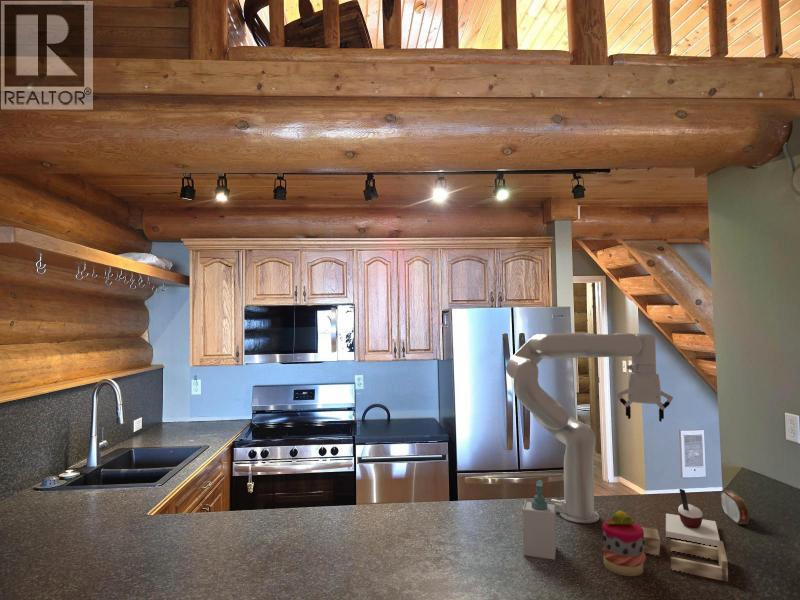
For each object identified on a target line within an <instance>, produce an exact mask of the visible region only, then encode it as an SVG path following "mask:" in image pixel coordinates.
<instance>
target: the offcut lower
mask: <svg viewBox="0 0 800 600" xmlns="http://www.w3.org/2000/svg"><path fill="white" fill-rule="evenodd" d="M659 539H660V540H661V537H659ZM660 549H661V547H660V548H656V547H649V546H643V551H644V552H645V554H647V553H651V554H650V555H652V554H655V555H654V556H656V555H658V556H657V557H660Z"/></svg>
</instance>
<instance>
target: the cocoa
mask: <svg viewBox="0 0 800 600" xmlns="http://www.w3.org/2000/svg"><path fill="white" fill-rule="evenodd" d="M679 494H680V495H679V496H680V498H681V503H682V504H680V505H679V506H678V513H679V516H680V519H681V522H682V523H683V524H684V525H685V526H686V527H689V528H698V527H699V526H700V525H701V523H702V519H703V512H702V510H701V508H699V507H696V506H695V505H694V504H693V505H692V504H691V503H688V500H687V495H686V490H685V489H682V488H679Z"/></svg>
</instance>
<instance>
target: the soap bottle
mask: <svg viewBox="0 0 800 600" xmlns="http://www.w3.org/2000/svg"><path fill="white" fill-rule="evenodd" d="M535 483H536V484H535V492H536V493H537V494H535V495H534V497H533V499H525V500H524V504H523V508H522V551H523V552H522V555H523V556H527V557H528V556H529V557H532V558H533V557H534V558H540V559H547V560H554V561H555V560H556V552H557V551H556V550H557V533H556V532H557V526H556V525H557V520H556V519H557V514H556V512H557V511H556V509H557V507H556V503H554V502H551V501H547V500H546V498H545V496H544V495H543V494H542V493H543V488H544V485H543V484H544V483H543V480H541V479H538V480H537V481H536V482H535Z"/></svg>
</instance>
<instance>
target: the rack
mask: <svg viewBox="0 0 800 600" xmlns="http://www.w3.org/2000/svg"><path fill="white" fill-rule="evenodd" d="M672 551H676V552H675V553H677V552H681V553H680V554H682V553H687V554H691V555H690V556H693V555H696V556H695V557H698V556H700V557H699V558H703V557H704V558H703V559H708V558H710V560H715V561H717V562H718V565H717V564H710V563H704V562H701V561H695V560H691V559H685V558H680V557H675V556H670V570H671V569H672V570H671V571H674V570H676V571H675V572H679V571H681V572H680V573H684V572H685V573H684V574H688V573H689V575H693V574H694V576H699V577H703V578H709V579H714V580H717V581H724V582H729V569H728V568H729V566H728V565H729V563H728V558H727V553H726V548H725V546H724V541H723V540H720V541H718V547H714V546H709V545H703V544H697V543H692V542H686V541H681V540H675V539H670V552H672ZM687 554H686V555H687Z"/></svg>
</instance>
